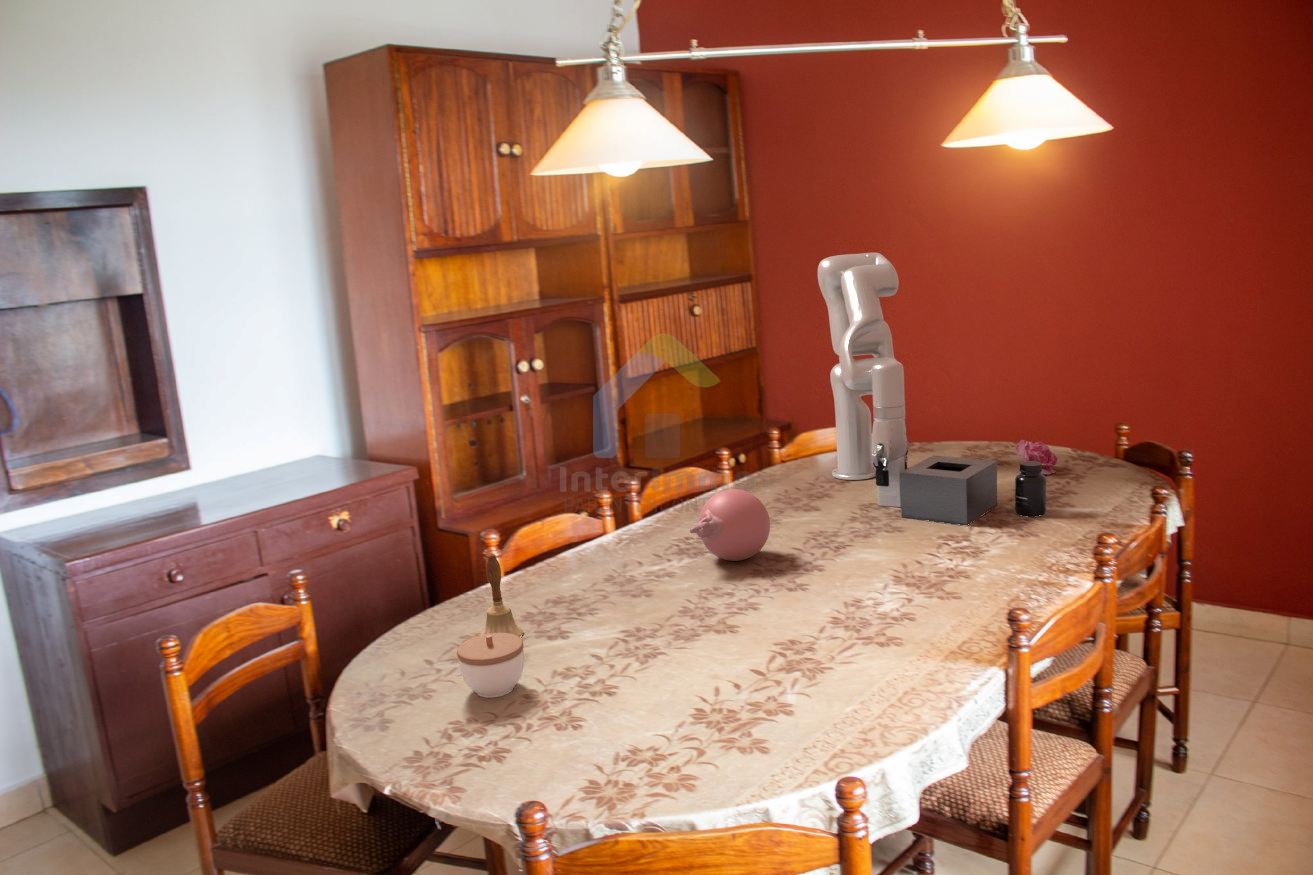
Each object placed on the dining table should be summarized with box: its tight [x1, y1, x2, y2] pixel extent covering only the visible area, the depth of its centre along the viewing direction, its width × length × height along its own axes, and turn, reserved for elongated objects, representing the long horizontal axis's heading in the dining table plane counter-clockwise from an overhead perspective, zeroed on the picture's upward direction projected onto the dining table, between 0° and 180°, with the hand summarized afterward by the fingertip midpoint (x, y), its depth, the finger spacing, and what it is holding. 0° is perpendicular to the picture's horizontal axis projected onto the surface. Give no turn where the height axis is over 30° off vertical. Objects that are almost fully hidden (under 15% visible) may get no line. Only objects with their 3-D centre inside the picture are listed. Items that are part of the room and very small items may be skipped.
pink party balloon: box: [689, 488, 771, 562], centre depth 220 cm, size 15×20×15 cm
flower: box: [1015, 439, 1059, 475], centre depth 272 cm, size 11×10×10 cm
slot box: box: [900, 454, 998, 526], centre depth 243 cm, size 18×16×11 cm
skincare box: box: [876, 456, 905, 508], centre depth 252 cm, size 6×4×12 cm
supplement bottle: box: [1014, 460, 1047, 518], centre depth 237 cm, size 7×7×12 cm
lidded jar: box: [456, 633, 525, 699], centre depth 168 cm, size 11×11×9 cm
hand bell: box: [479, 553, 525, 637], centre depth 189 cm, size 8×8×16 cm
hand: (891, 481), depth 252 cm, fingers open, 9 cm apart
